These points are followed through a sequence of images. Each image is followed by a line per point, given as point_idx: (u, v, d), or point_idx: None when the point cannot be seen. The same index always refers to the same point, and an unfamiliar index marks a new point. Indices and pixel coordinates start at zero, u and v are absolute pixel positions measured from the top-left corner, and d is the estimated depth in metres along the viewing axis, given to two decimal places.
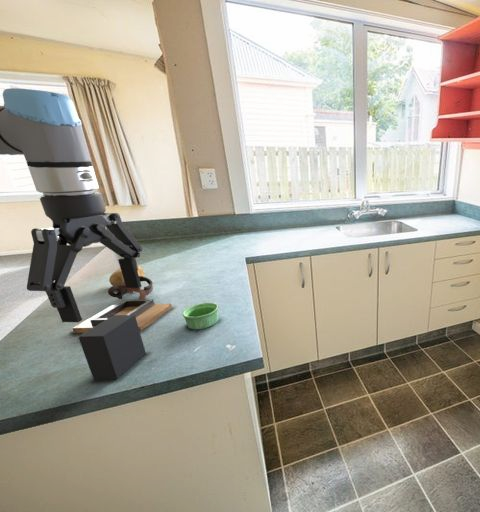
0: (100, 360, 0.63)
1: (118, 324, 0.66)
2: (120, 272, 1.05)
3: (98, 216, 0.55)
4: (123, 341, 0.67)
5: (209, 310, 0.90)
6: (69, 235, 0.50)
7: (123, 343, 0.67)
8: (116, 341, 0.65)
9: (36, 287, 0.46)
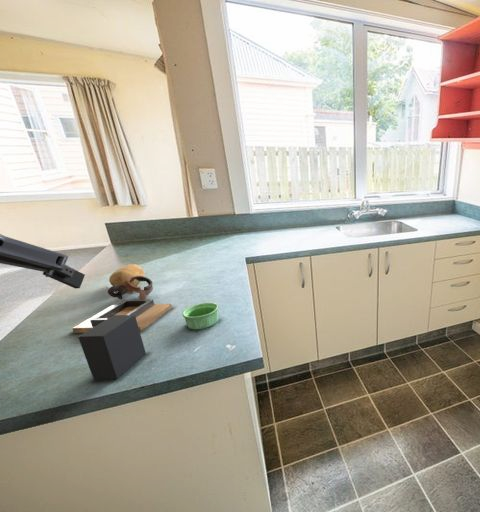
0: (100, 360, 0.63)
1: (118, 324, 0.66)
2: (120, 272, 1.05)
3: None
4: (123, 341, 0.67)
5: (209, 310, 0.90)
6: None
7: (123, 343, 0.67)
8: (116, 341, 0.65)
9: None
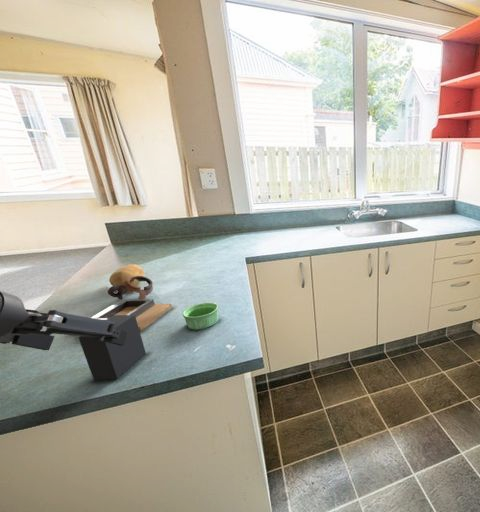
0: (100, 360, 0.63)
1: (118, 324, 0.66)
2: (120, 272, 1.05)
3: (17, 325, 0.45)
4: None
5: (209, 310, 0.90)
6: None
7: None
8: None
9: None
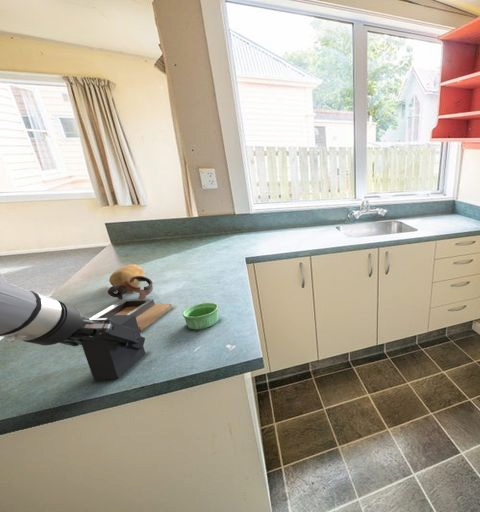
0: (101, 360, 0.63)
1: None
2: (120, 272, 1.05)
3: (75, 330, 0.55)
4: None
5: (209, 310, 0.90)
6: None
7: None
8: None
9: None
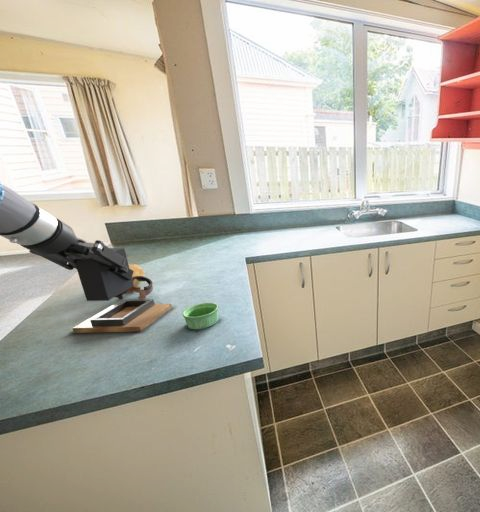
0: (94, 282, 0.72)
1: None
2: None
3: (69, 246, 0.63)
4: None
5: (209, 310, 0.90)
6: None
7: None
8: None
9: None
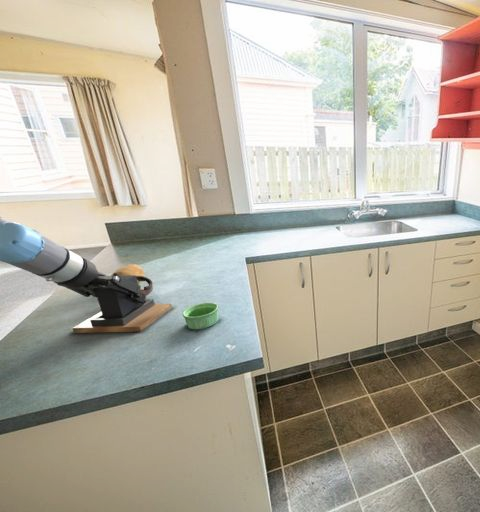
0: (111, 307, 0.83)
1: None
2: (120, 272, 1.05)
3: (92, 279, 0.75)
4: None
5: (209, 310, 0.90)
6: None
7: None
8: None
9: None
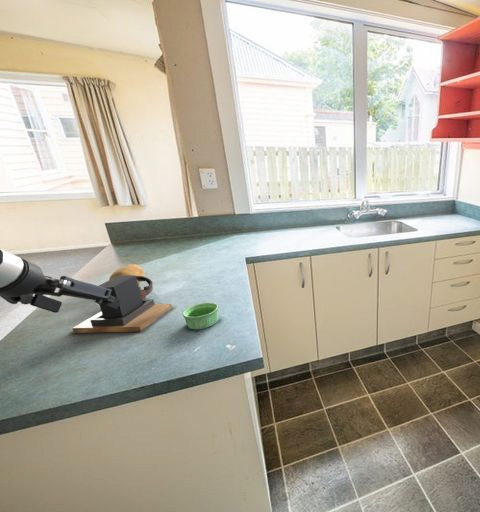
0: None
1: (123, 280, 0.86)
2: (120, 272, 1.05)
3: (37, 286, 0.62)
4: (128, 294, 0.87)
5: (209, 310, 0.90)
6: None
7: (128, 296, 0.87)
8: (123, 293, 0.85)
9: None
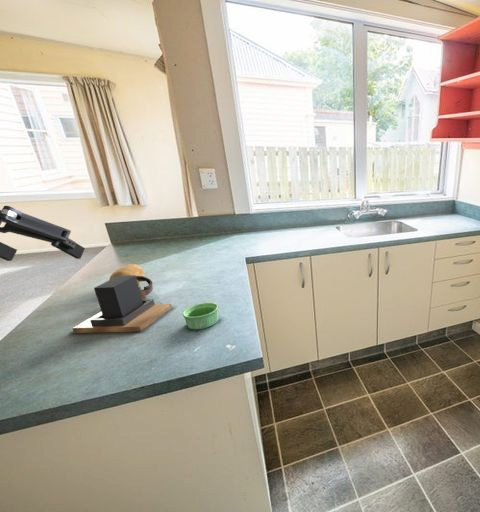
0: (111, 307, 0.83)
1: (123, 280, 0.86)
2: (120, 272, 1.05)
3: None
4: (128, 294, 0.87)
5: (209, 310, 0.90)
6: None
7: (128, 296, 0.87)
8: (123, 293, 0.85)
9: None
